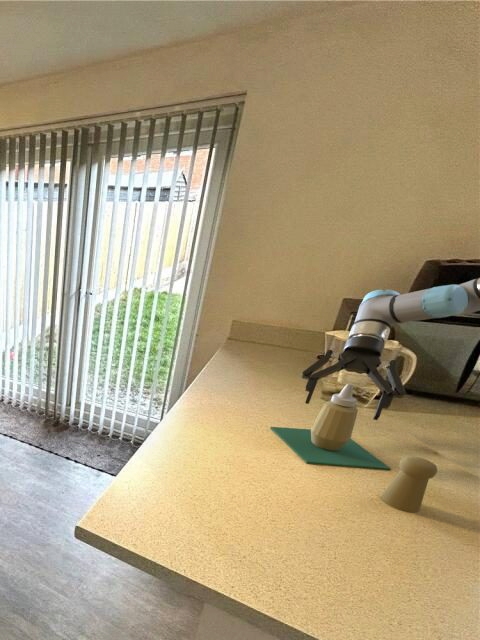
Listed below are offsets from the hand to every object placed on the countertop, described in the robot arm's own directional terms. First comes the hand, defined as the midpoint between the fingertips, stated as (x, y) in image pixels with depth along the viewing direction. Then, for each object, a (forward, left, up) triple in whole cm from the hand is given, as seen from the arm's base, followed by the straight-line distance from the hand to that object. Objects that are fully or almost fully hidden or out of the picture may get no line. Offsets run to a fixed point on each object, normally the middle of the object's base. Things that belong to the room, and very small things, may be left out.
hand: (340, 409), depth 103 cm
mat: (-2, +2, -10) cm, 11 cm away
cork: (-24, 0, -11) cm, 27 cm away
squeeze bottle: (-2, +2, -10) cm, 10 cm away
